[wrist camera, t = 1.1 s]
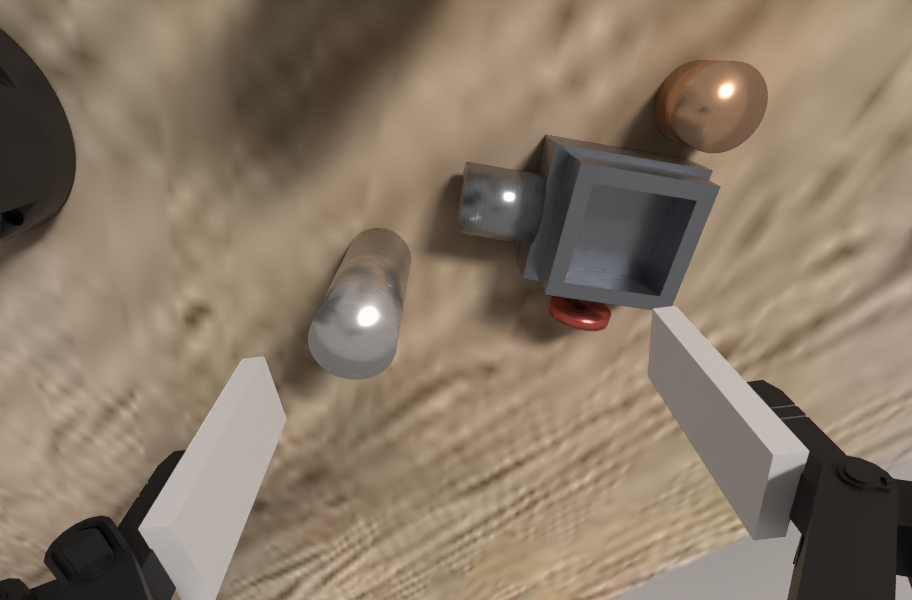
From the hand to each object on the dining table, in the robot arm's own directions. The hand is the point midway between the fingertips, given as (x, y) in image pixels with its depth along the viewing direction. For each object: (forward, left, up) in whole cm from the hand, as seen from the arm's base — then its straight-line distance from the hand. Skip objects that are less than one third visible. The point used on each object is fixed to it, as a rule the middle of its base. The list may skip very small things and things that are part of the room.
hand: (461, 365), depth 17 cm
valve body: (+8, 0, -20) cm, 22 cm away
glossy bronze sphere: (+14, +9, -20) cm, 26 cm away
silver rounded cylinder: (-5, -5, -20) cm, 21 cm away
